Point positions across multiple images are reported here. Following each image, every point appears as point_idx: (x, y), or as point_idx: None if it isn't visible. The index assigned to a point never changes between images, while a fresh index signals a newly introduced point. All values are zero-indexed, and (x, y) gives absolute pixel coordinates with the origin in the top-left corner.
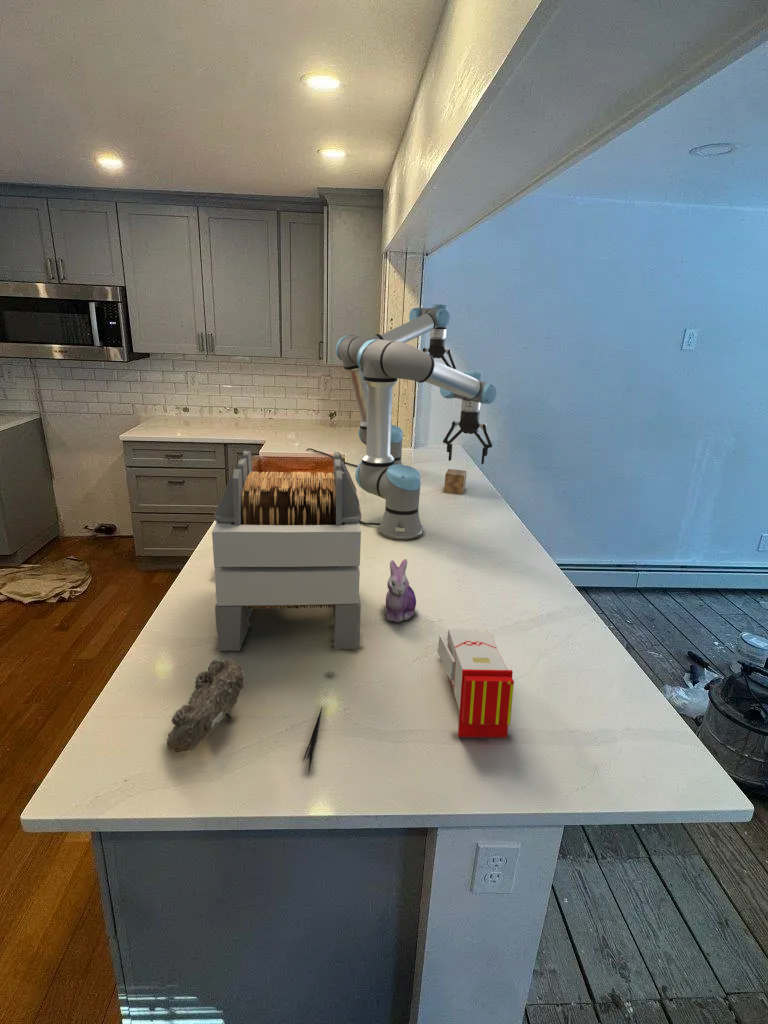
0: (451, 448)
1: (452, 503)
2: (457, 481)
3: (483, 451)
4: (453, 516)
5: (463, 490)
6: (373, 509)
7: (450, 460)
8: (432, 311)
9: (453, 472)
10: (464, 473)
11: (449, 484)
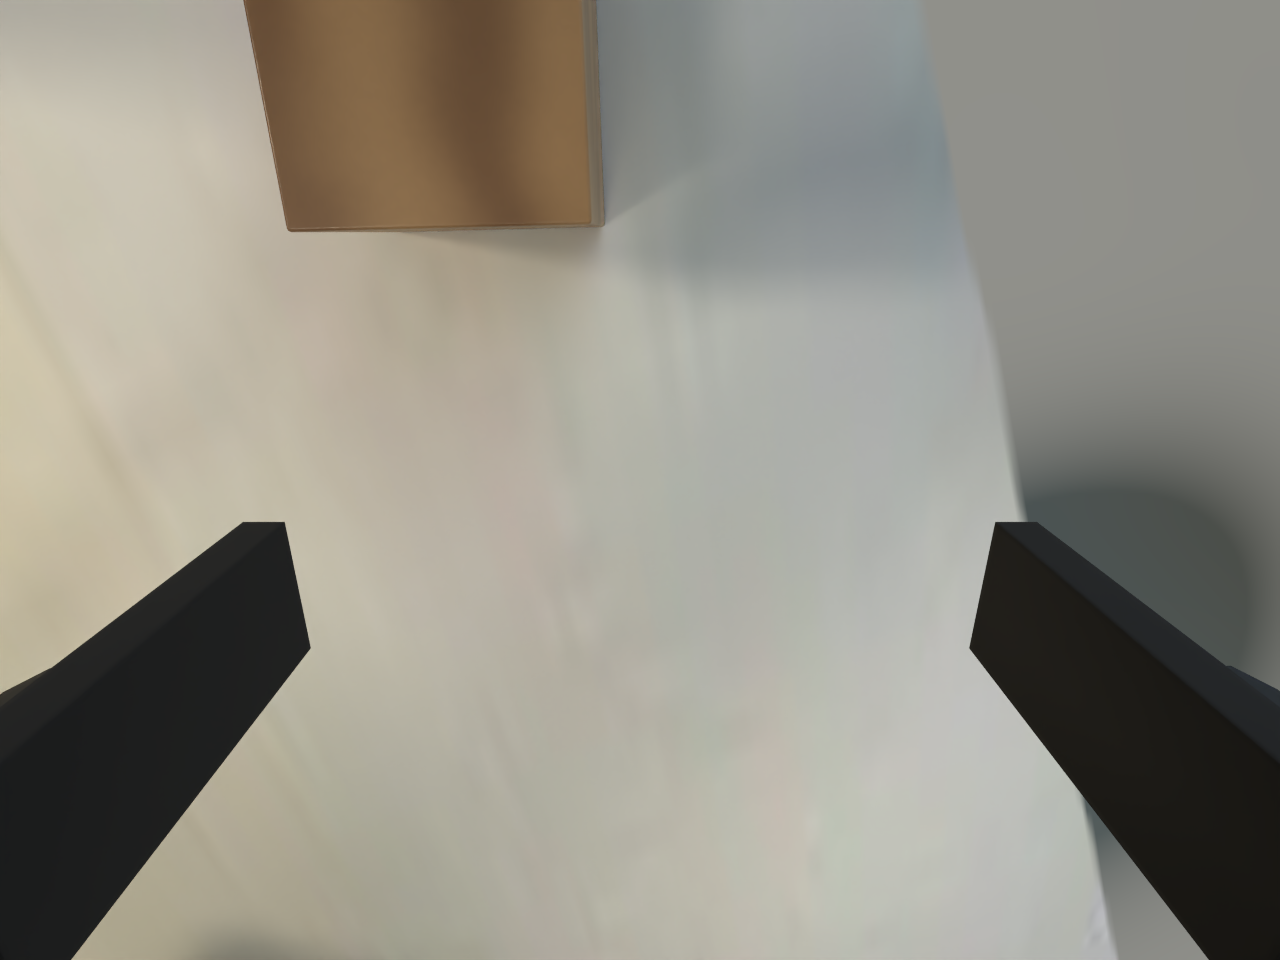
0: (106, 831)
1: (570, 551)
2: (512, 227)
3: (1204, 907)
4: (640, 812)
5: (600, 135)
6: None
7: (305, 625)
8: None
9: (380, 88)
10: (571, 66)
11: (419, 230)
